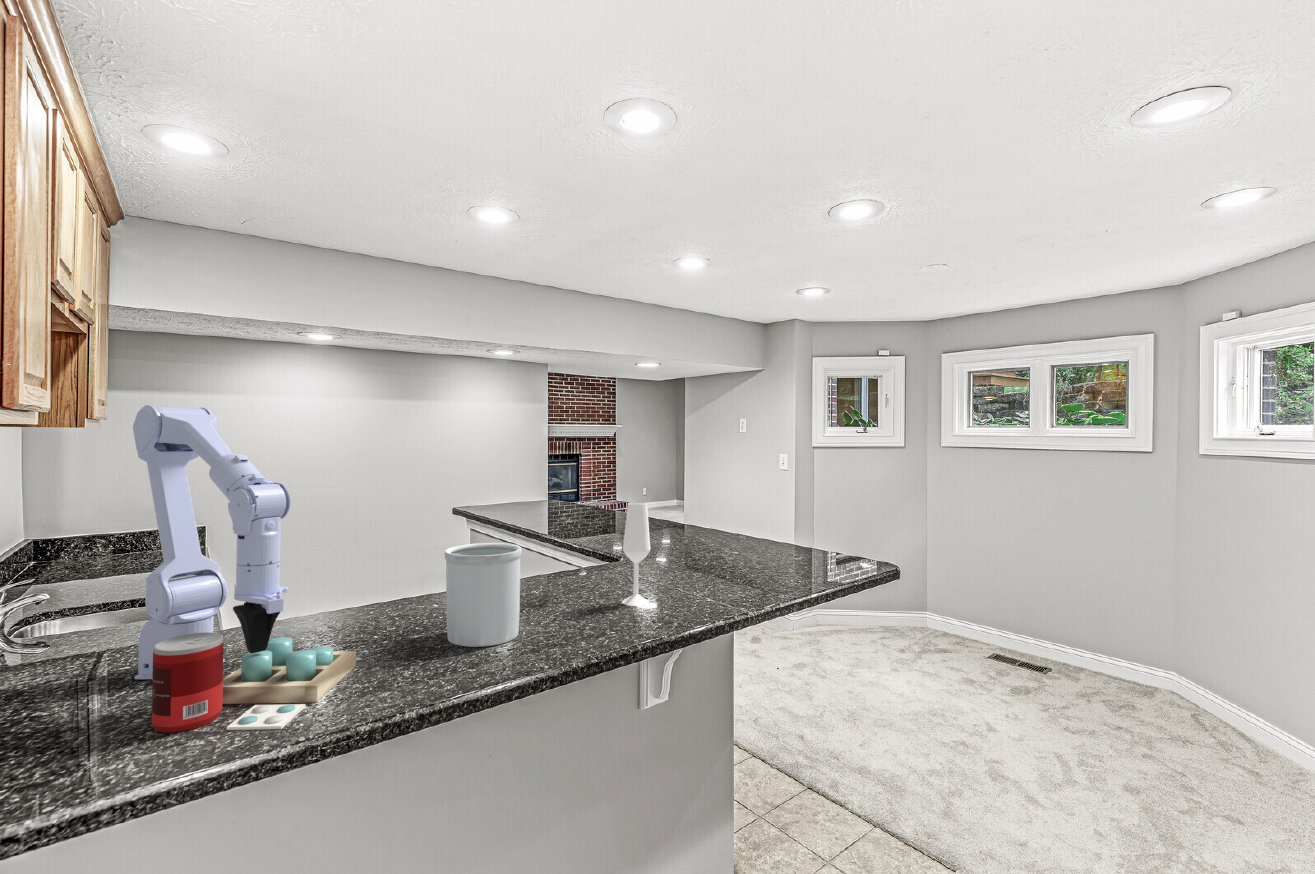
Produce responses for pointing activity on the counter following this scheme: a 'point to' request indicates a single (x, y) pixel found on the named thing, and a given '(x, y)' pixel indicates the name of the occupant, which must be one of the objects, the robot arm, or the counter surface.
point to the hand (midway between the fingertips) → (257, 650)
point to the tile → (266, 717)
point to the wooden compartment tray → (288, 684)
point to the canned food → (187, 681)
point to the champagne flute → (636, 545)
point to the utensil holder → (482, 593)
